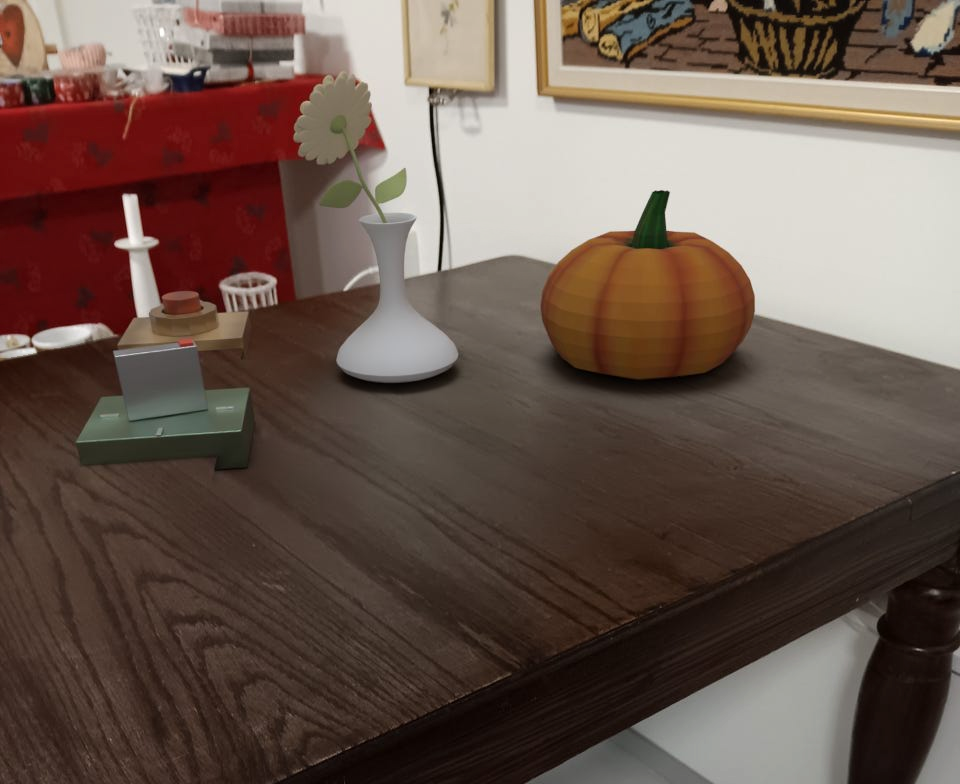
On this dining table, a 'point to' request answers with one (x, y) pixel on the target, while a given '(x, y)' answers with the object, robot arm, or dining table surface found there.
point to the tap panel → (172, 432)
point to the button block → (190, 329)
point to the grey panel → (161, 379)
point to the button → (181, 303)
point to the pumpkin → (647, 301)
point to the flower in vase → (394, 324)
